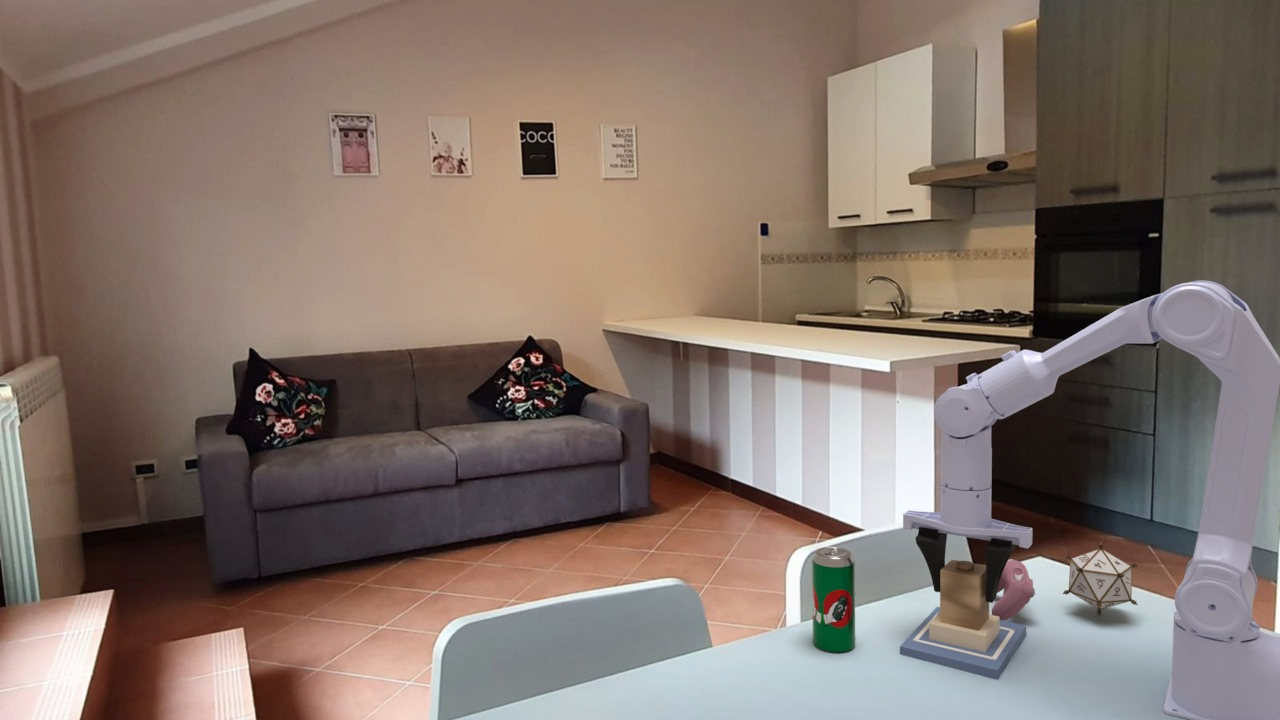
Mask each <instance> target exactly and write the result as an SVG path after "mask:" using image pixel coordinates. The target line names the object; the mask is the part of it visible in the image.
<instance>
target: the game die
mask: <svg viewBox="0 0 1280 720" xmlns="http://www.w3.org/2000/svg"><path fill="white" fill-rule="evenodd" d="M1098 547H1099V548H1097V549H1094V550H1090V551H1088V552H1085V553H1082V554H1079V555H1077V556H1076V555H1075V556H1073V557H1071V555H1069V554H1064V556H1065V559H1067V560H1069V576H1068V577H1069V578H1068V580H1069V581H1068V589H1066V590H1063V593H1062V594H1063V595H1066V596H1067V595H1069V594H1070V593H1071V594H1072V595H1074V596H1075V597H1077V598H1079V599H1081V600H1082V601H1084V602H1086V603H1087V604H1089V605H1090V606H1093V607H1094V608H1095V609H1097V610H1096V614H1097V615H1098V617H1099V616H1101V615H1102V612H1103V611H1102V610H1104V609H1106V608H1111V607H1114V606H1118V605H1122V604H1125V603H1128V602H1130V603H1131V604H1132V605H1137V606H1138V603H1137V600H1135V599H1132V592H1133V568H1137V566H1138V565H1139V563H1136V562H1133V563H1132V564H1129V563H1128V562H1125V561H1124V560H1122V559H1121V558H1119V557H1117V556H1116V555H1113V554H1112V553H1111V552H1108V550H1106V549H1104V544H1103V543H1102V541H1100V542H1099V544H1098Z"/></svg>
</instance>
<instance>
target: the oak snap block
mask: <svg viewBox="0 0 1280 720" xmlns="http://www.w3.org/2000/svg"><path fill="white" fill-rule="evenodd" d="M986 579H987V574H986V564H985V565H984V564H979V563H974V562H972V561H969V560H956V559H951V560H950V561H948V563H947V564H945V566H944V567H943V568H942V569H941V570H940V592H939V593H940V594H939V599H940V600H939V607H940V622H941V623H946V624H950V625H955V626H959V627H963V628H968V629H972V630H977V631H979V630H980V629H981V628H982V626H983V625H984V624H985V622H986V621H987V620H988V619H989V614H990V602H986V595H985V594H986Z"/></svg>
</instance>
